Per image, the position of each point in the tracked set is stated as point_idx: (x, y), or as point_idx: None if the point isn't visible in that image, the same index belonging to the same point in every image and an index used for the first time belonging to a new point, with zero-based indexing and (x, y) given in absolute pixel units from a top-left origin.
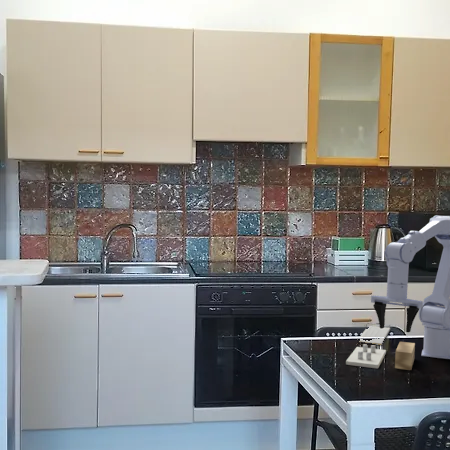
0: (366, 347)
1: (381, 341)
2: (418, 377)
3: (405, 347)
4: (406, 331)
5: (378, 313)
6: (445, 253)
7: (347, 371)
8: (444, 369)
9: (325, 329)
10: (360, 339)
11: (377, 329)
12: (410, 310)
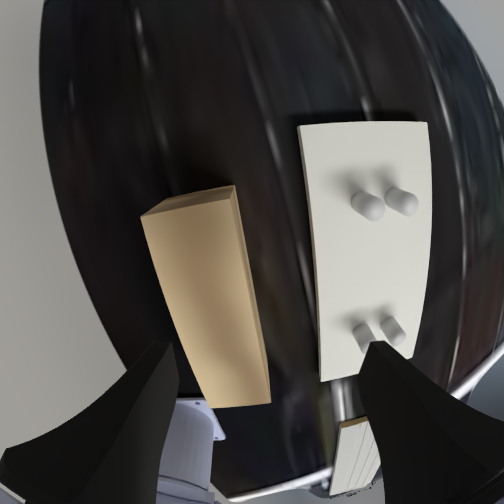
0: (390, 329)
1: (342, 440)
2: (116, 107)
3: (213, 325)
4: (167, 343)
5: (458, 412)
6: None
7: (380, 30)
8: (88, 288)
9: None
10: None
11: (352, 482)
12: (25, 475)
